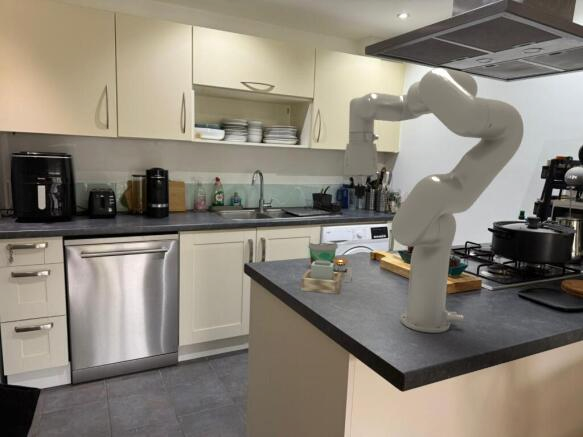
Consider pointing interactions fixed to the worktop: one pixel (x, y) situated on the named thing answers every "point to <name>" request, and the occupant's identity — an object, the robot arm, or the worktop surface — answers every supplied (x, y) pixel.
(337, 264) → the plunger
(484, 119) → the robot arm
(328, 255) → the food container
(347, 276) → the plunger base
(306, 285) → the bay
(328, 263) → the pale green box
